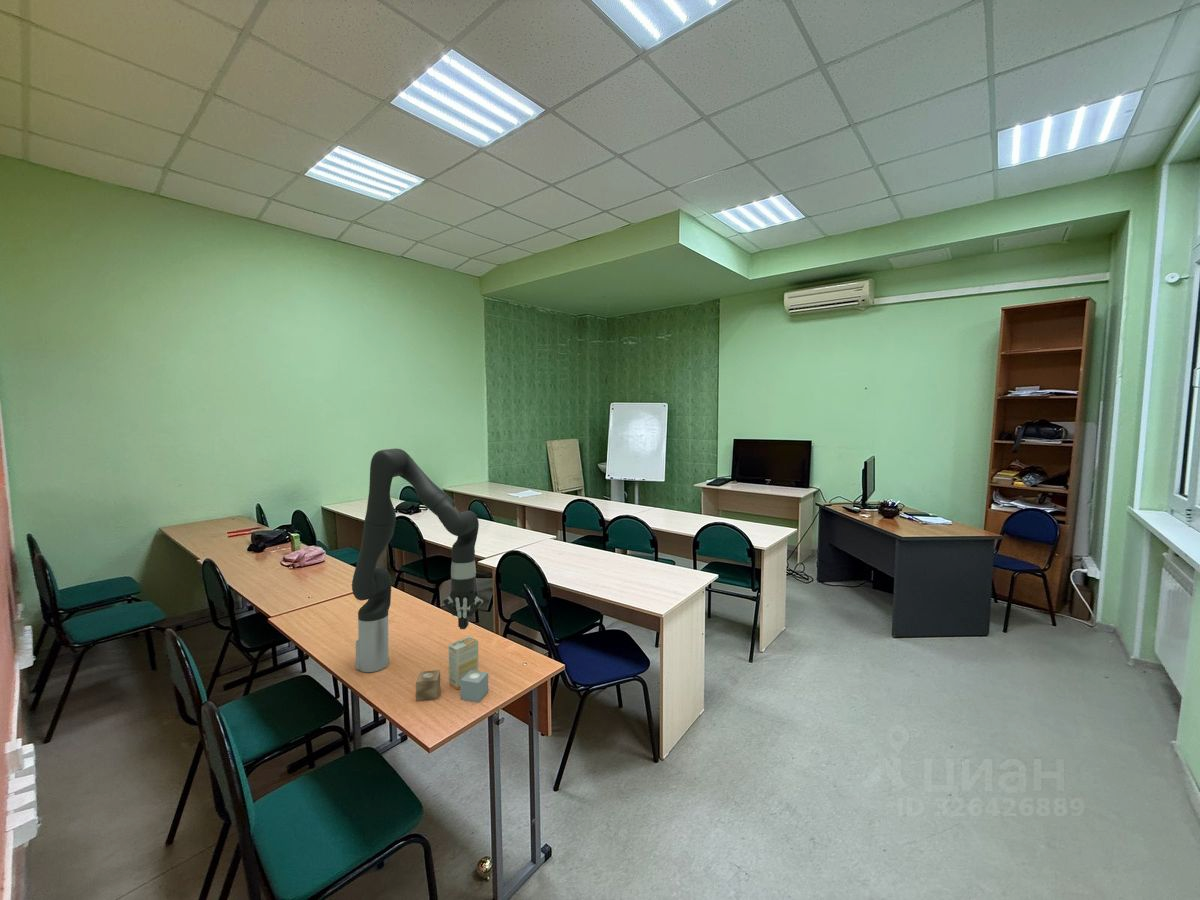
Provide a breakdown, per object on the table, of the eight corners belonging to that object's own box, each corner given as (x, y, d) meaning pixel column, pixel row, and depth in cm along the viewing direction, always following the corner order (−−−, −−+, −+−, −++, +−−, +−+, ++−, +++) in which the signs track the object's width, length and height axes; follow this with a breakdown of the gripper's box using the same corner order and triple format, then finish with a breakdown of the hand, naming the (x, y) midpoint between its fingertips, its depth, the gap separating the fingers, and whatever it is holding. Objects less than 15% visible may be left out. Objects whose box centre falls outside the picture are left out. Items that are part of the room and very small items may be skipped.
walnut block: (416, 701, 139) (415, 681, 138) (420, 690, 145) (419, 671, 144) (437, 699, 140) (437, 679, 139) (440, 688, 146) (440, 669, 145)
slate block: (460, 699, 140) (460, 679, 140) (470, 689, 146) (470, 669, 145) (478, 702, 138) (478, 682, 138) (488, 691, 144) (488, 672, 144)
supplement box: (470, 674, 154) (470, 635, 154) (479, 679, 151) (479, 639, 151) (448, 684, 148) (447, 644, 147) (456, 690, 145) (456, 648, 144)
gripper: (438, 577, 145) (438, 632, 146) (479, 579, 144) (479, 634, 145) (447, 570, 152) (448, 622, 153) (487, 571, 151) (487, 624, 152)
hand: (463, 628), depth 149 cm, fingers closed
